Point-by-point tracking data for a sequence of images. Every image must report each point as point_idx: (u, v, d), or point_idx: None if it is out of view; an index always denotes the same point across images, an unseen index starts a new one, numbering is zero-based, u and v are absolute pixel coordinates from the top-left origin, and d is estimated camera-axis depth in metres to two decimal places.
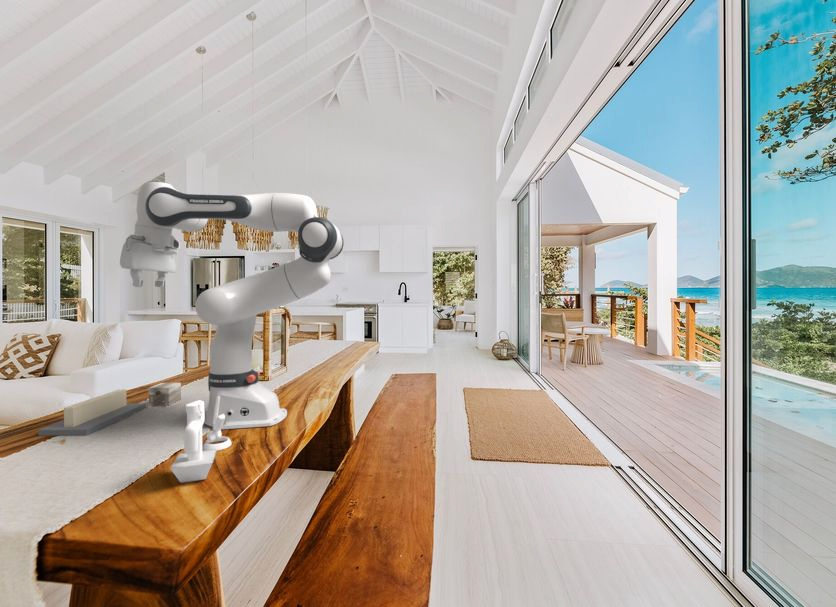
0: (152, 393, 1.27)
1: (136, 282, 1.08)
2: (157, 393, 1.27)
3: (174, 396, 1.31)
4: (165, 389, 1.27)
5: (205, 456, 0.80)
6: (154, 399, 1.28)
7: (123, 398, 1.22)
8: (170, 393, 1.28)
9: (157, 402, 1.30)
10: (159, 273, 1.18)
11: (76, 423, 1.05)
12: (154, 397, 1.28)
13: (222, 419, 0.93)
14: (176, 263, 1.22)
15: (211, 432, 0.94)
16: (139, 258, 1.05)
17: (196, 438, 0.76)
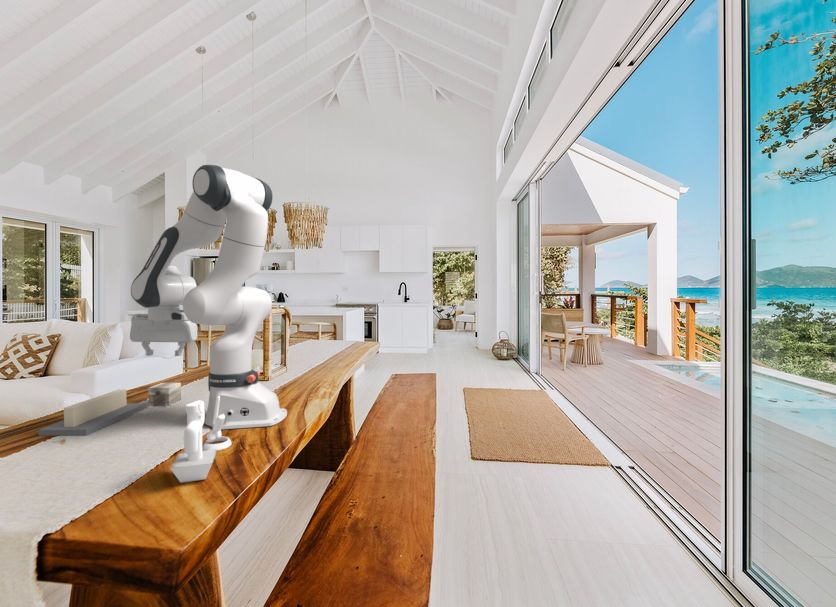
0: (152, 393, 1.27)
1: None
2: (157, 393, 1.27)
3: (174, 396, 1.31)
4: (165, 389, 1.27)
5: (205, 456, 0.80)
6: (154, 399, 1.28)
7: (123, 398, 1.22)
8: (170, 393, 1.28)
9: (157, 402, 1.30)
10: None
11: (76, 423, 1.05)
12: (154, 397, 1.28)
13: (222, 419, 0.93)
14: (188, 333, 1.29)
15: (211, 432, 0.94)
16: (136, 332, 1.28)
17: (196, 438, 0.76)
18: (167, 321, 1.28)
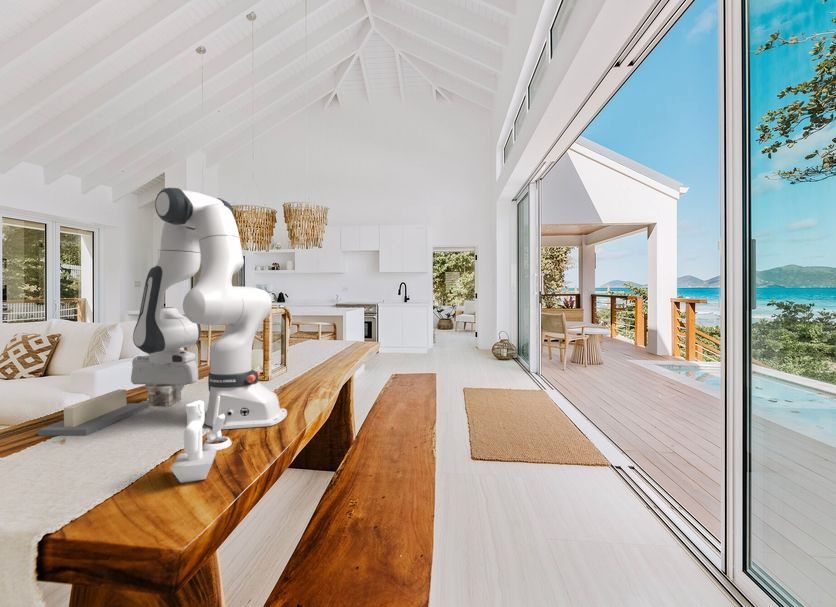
0: (152, 393, 1.27)
1: None
2: (157, 393, 1.27)
3: None
4: (165, 389, 1.27)
5: (205, 456, 0.80)
6: (154, 399, 1.28)
7: (123, 398, 1.22)
8: (170, 393, 1.28)
9: (157, 402, 1.30)
10: None
11: (76, 423, 1.05)
12: (154, 397, 1.28)
13: (222, 419, 0.93)
14: (189, 375, 1.29)
15: (211, 432, 0.94)
16: (137, 375, 1.29)
17: (196, 438, 0.76)
18: (168, 363, 1.29)
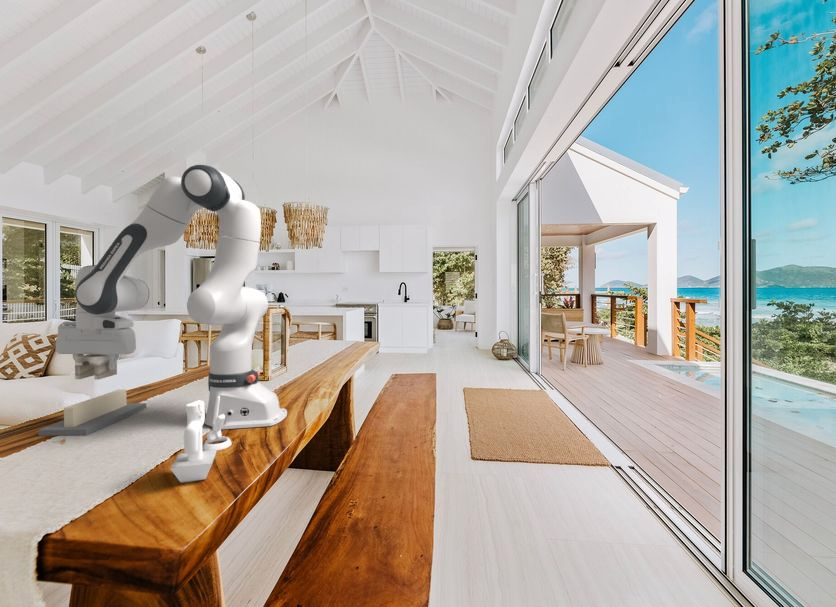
0: (79, 364, 1.10)
1: None
2: (84, 363, 1.09)
3: None
4: (94, 359, 1.10)
5: (205, 456, 0.80)
6: (82, 371, 1.11)
7: (123, 398, 1.22)
8: (101, 364, 1.11)
9: (87, 375, 1.12)
10: None
11: (76, 423, 1.05)
12: (82, 368, 1.11)
13: (222, 419, 0.93)
14: (123, 344, 1.11)
15: (211, 432, 0.94)
16: (63, 343, 1.11)
17: (196, 438, 0.76)
18: (99, 330, 1.11)
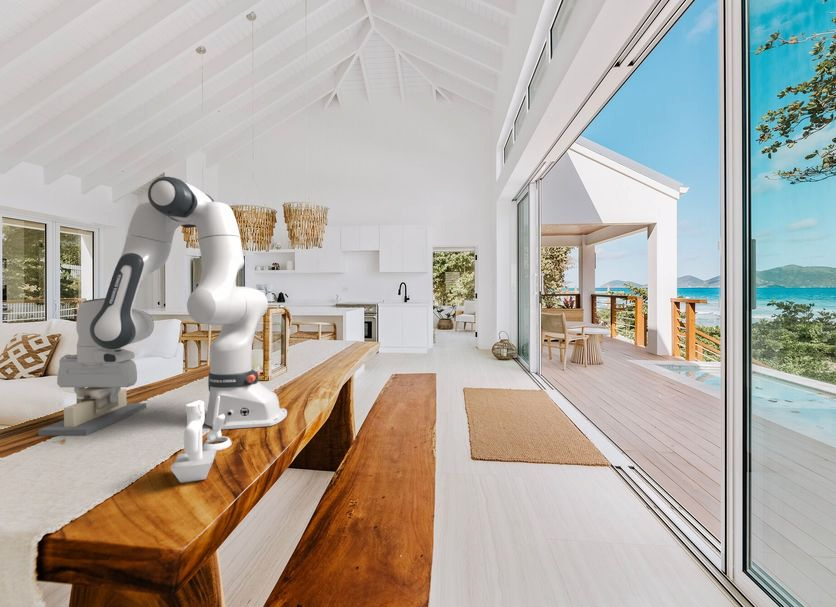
0: (81, 397, 1.10)
1: None
2: (86, 397, 1.09)
3: None
4: (96, 393, 1.10)
5: (205, 456, 0.80)
6: None
7: (123, 398, 1.22)
8: (102, 397, 1.11)
9: None
10: None
11: (76, 423, 1.05)
12: None
13: (222, 419, 0.93)
14: (124, 377, 1.12)
15: (211, 432, 0.94)
16: (64, 376, 1.11)
17: (196, 438, 0.76)
18: (100, 363, 1.11)
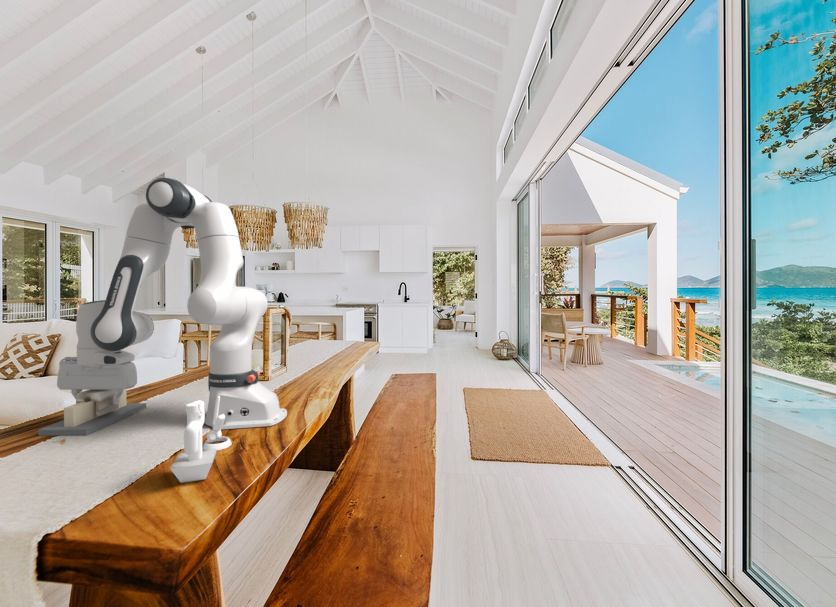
0: (81, 400, 1.10)
1: None
2: (86, 400, 1.09)
3: (108, 403, 1.13)
4: (96, 395, 1.10)
5: (205, 456, 0.80)
6: None
7: (123, 398, 1.22)
8: (102, 400, 1.11)
9: None
10: None
11: (76, 423, 1.05)
12: None
13: (222, 419, 0.93)
14: (124, 379, 1.12)
15: (211, 432, 0.94)
16: (64, 379, 1.11)
17: (196, 438, 0.76)
18: (100, 365, 1.11)
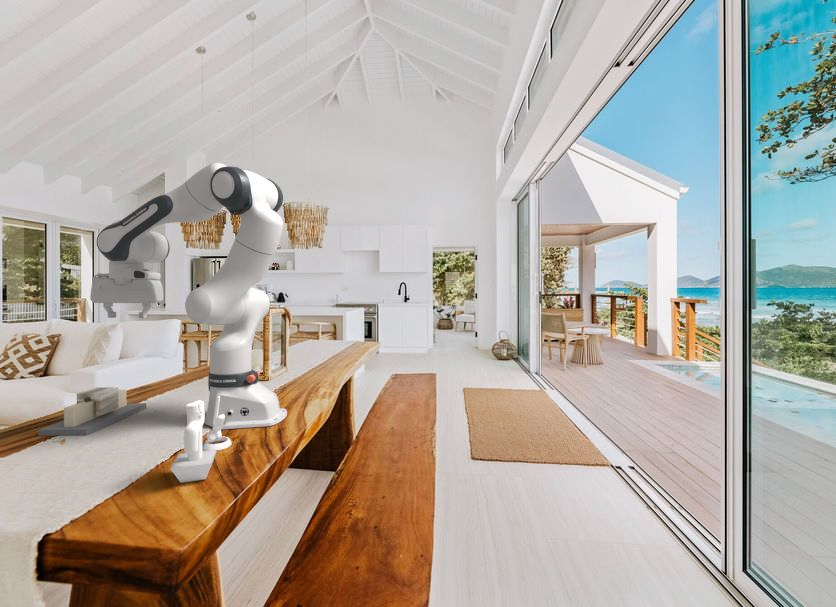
0: (81, 400, 1.10)
1: None
2: (86, 400, 1.09)
3: (108, 403, 1.13)
4: (96, 395, 1.10)
5: (205, 456, 0.80)
6: None
7: (123, 398, 1.22)
8: (102, 400, 1.11)
9: None
10: None
11: (76, 423, 1.05)
12: None
13: (222, 419, 0.93)
14: (152, 293, 1.21)
15: (211, 432, 0.94)
16: (97, 292, 1.21)
17: (196, 438, 0.76)
18: (130, 280, 1.21)
